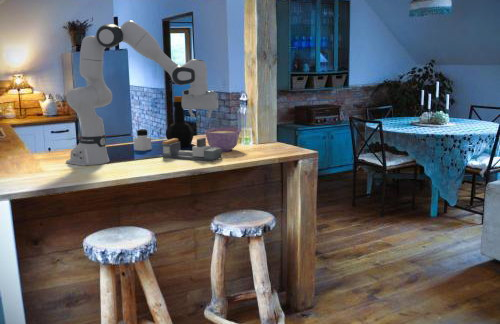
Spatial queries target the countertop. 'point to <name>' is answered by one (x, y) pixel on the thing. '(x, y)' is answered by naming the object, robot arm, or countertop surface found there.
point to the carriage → (200, 147)
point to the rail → (189, 153)
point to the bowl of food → (223, 138)
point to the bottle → (180, 125)
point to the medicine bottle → (142, 140)
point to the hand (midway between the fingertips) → (200, 117)
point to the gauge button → (170, 141)
